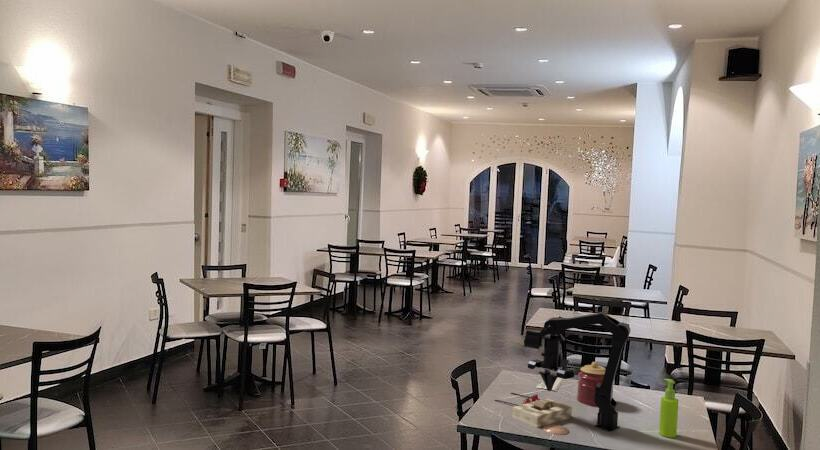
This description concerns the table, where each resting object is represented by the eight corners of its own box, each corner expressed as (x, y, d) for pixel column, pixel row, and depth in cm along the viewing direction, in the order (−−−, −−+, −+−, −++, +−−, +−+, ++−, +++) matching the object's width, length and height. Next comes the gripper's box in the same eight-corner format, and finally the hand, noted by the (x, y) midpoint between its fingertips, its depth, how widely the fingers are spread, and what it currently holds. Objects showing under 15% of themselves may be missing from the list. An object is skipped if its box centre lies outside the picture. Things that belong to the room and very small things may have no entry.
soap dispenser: (670, 430, 237) (673, 377, 237) (679, 437, 231) (682, 383, 230) (655, 430, 237) (658, 377, 236) (663, 437, 230) (666, 382, 229)
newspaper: (538, 379, 301) (538, 374, 301) (564, 383, 296) (565, 378, 296) (528, 392, 280) (528, 386, 280) (556, 396, 275) (556, 391, 275)
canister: (611, 410, 259) (613, 367, 258) (578, 407, 261) (580, 364, 260) (606, 400, 272) (608, 359, 271) (575, 397, 274) (577, 356, 273)
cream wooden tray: (546, 410, 255) (547, 398, 255) (571, 419, 245) (571, 406, 245) (512, 420, 243) (512, 407, 242) (536, 429, 233) (537, 416, 233)
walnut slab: (542, 416, 248) (545, 411, 249) (551, 420, 244) (554, 414, 245) (533, 404, 244) (536, 399, 245) (542, 408, 240) (545, 402, 241)
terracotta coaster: (573, 433, 231) (573, 430, 231) (557, 438, 226) (557, 435, 226) (553, 425, 238) (553, 422, 238) (537, 430, 233) (537, 427, 233)
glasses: (524, 413, 251) (525, 401, 251) (488, 404, 261) (488, 392, 261) (540, 405, 262) (540, 393, 262) (504, 396, 272) (505, 385, 272)
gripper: (584, 353, 243) (582, 394, 243) (546, 343, 258) (544, 381, 258) (565, 357, 236) (563, 398, 237) (527, 346, 251) (525, 385, 251)
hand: (549, 390), depth 246 cm, fingers closed
